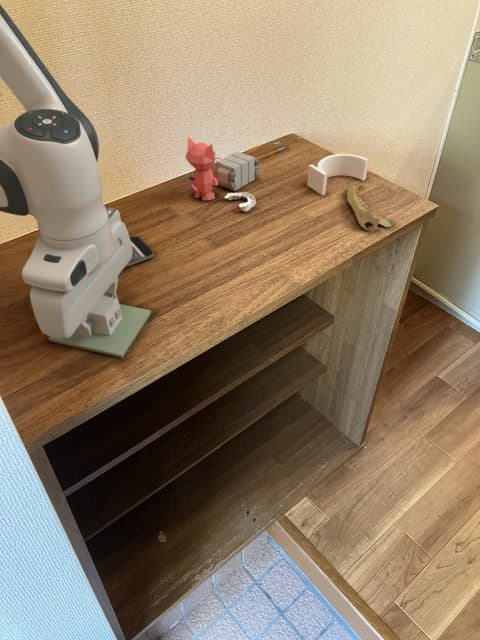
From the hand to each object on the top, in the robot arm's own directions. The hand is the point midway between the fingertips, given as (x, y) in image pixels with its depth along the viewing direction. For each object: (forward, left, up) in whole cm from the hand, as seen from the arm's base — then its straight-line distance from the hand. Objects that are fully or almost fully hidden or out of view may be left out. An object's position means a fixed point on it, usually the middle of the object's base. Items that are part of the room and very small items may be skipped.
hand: (99, 317), depth 78 cm
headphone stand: (+22, +50, 0) cm, 55 cm away
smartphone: (-7, +15, -2) cm, 17 cm away
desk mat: (0, 0, -2) cm, 2 cm away
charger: (0, 0, -1) cm, 1 cm away
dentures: (+10, +41, -3) cm, 42 cm away
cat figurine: (+1, +41, -2) cm, 41 cm away
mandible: (+30, +46, +1) cm, 55 cm away
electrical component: (+9, +56, +3) cm, 57 cm away
